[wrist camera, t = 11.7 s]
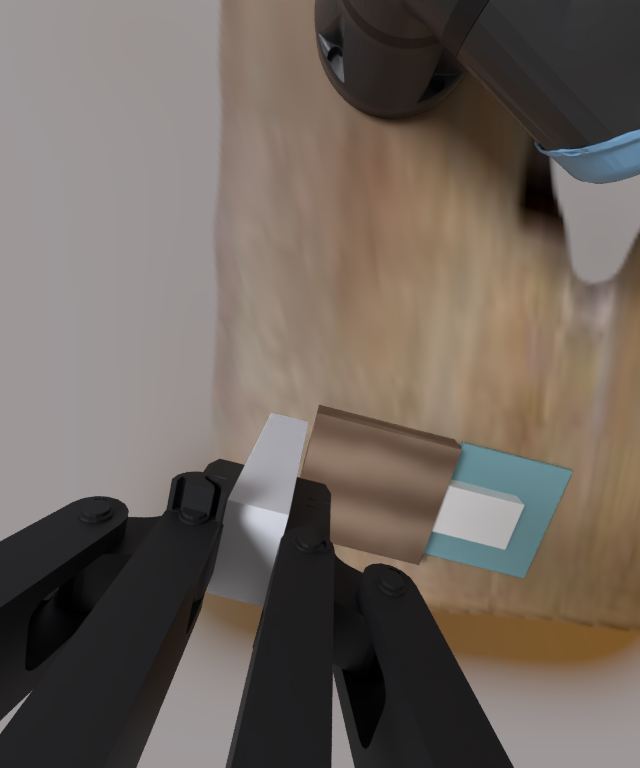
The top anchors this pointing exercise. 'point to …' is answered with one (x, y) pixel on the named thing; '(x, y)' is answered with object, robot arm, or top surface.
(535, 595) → the top surface
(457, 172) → the top surface
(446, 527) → the white slab
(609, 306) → the top surface
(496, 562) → the mat
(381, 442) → the brown wooden flat block
